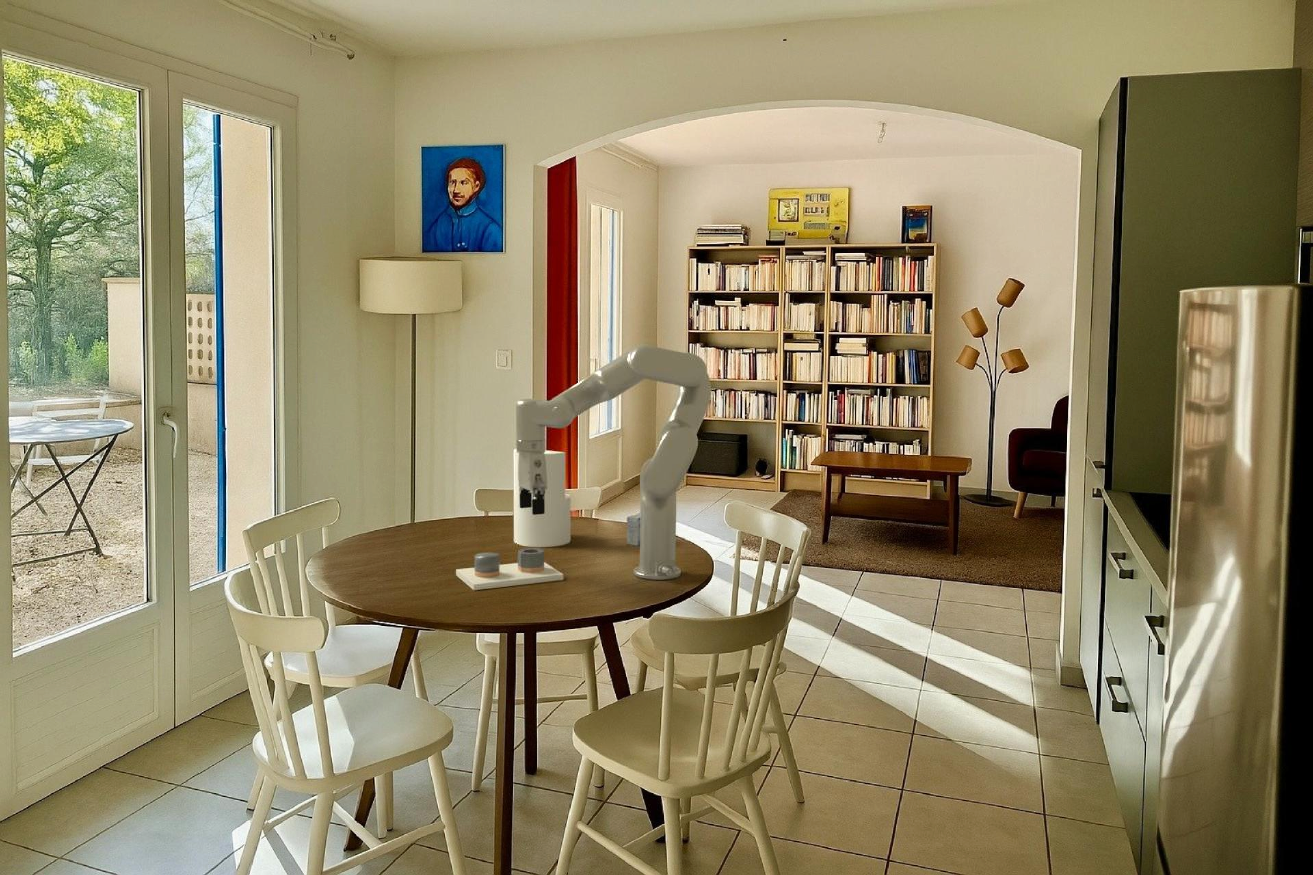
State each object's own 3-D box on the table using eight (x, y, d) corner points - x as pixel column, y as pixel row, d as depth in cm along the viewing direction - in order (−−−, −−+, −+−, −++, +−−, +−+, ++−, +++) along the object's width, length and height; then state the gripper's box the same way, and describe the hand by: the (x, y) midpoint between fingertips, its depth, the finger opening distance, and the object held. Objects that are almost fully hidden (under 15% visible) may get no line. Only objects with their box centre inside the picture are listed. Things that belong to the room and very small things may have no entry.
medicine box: (637, 546, 295) (638, 518, 294) (626, 544, 298) (626, 516, 297) (653, 542, 301) (654, 514, 300) (642, 539, 304) (642, 512, 303)
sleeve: (546, 571, 259) (546, 552, 259) (523, 573, 256) (523, 554, 256) (538, 565, 265) (538, 547, 264) (515, 567, 262) (515, 549, 261)
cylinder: (547, 549, 289) (547, 455, 286) (502, 542, 298) (501, 450, 295) (581, 539, 304) (582, 449, 301) (537, 532, 313) (537, 444, 310)
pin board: (563, 579, 256) (563, 555, 256) (473, 590, 246) (473, 564, 245) (541, 565, 270) (541, 542, 270) (456, 574, 260) (455, 550, 259)
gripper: (556, 449, 251) (557, 515, 253) (533, 441, 266) (534, 504, 268) (528, 451, 247) (529, 518, 249) (506, 443, 263) (507, 506, 265)
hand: (531, 510), depth 259 cm, fingers open, 9 cm apart
